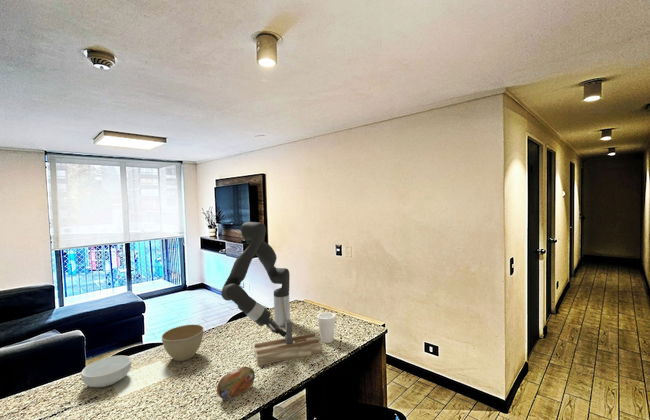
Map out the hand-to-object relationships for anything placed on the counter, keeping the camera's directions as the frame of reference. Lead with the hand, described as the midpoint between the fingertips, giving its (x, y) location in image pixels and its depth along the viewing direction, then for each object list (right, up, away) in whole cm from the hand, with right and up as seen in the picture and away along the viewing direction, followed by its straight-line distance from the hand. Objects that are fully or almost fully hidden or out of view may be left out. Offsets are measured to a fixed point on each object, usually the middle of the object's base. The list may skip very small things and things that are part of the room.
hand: (285, 335), depth 145 cm
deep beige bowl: (-48, -11, 0) cm, 50 cm away
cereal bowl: (-71, -12, -19) cm, 75 cm away
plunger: (+2, -4, +1) cm, 5 cm away
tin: (-15, -10, -30) cm, 35 cm away
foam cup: (+20, -8, +12) cm, 25 cm away
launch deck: (+1, -9, 0) cm, 9 cm away
